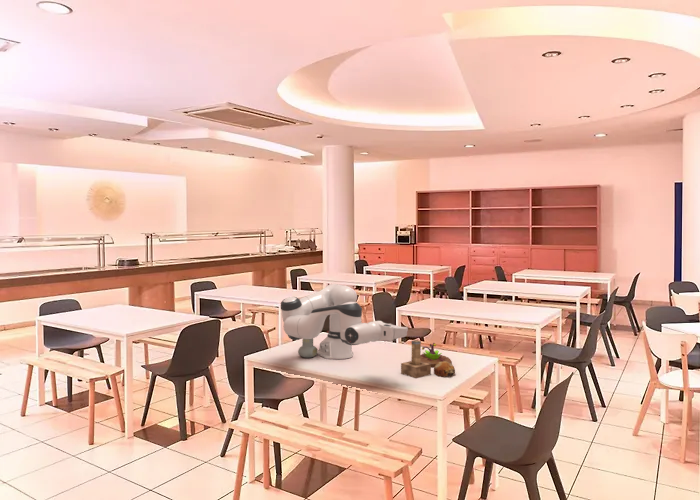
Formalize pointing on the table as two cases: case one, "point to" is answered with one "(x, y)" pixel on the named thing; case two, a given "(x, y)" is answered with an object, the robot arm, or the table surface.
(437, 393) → the table surface
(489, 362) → the table surface
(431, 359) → the plant
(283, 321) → the robot arm
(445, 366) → the bread roll
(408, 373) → the square wooden socket base
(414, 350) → the upright wooden post
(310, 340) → the air freshener
